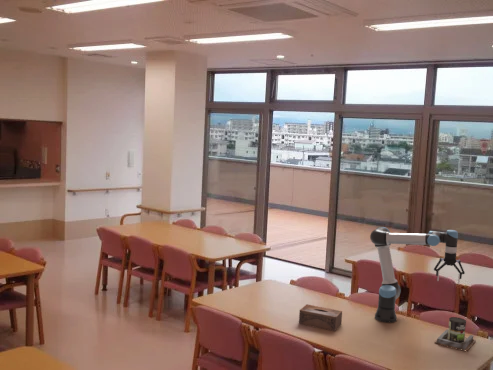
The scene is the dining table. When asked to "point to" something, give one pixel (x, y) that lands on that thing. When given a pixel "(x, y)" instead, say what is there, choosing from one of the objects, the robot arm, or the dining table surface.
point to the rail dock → (443, 341)
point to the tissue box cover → (320, 317)
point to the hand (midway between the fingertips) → (448, 282)
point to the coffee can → (456, 329)
